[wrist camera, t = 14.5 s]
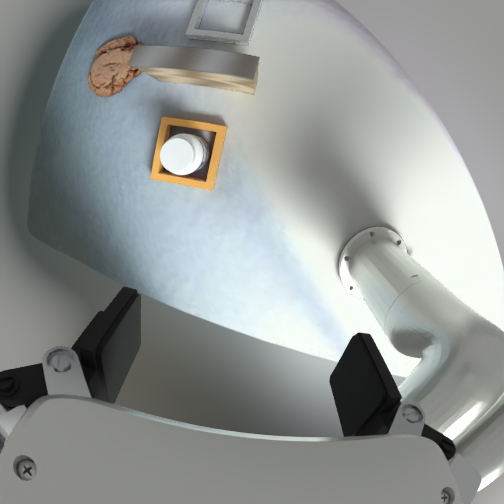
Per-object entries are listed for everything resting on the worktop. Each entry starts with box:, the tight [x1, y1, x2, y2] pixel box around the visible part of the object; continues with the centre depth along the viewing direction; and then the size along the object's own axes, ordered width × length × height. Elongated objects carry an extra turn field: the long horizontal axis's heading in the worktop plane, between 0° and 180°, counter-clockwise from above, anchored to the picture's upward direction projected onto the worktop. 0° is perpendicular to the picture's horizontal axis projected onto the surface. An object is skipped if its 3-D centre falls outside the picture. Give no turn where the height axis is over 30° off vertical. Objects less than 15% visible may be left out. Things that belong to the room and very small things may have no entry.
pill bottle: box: [160, 134, 210, 175], centre depth 33 cm, size 5×5×9 cm
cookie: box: [88, 36, 144, 97], centre depth 30 cm, size 10×11×3 cm
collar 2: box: [151, 117, 227, 191], centre depth 36 cm, size 9×9×2 cm
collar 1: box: [185, 0, 263, 46], centre depth 28 cm, size 9×9×2 cm
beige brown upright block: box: [129, 46, 259, 95], centre depth 28 cm, size 14×3×11 cm, turn 77°
